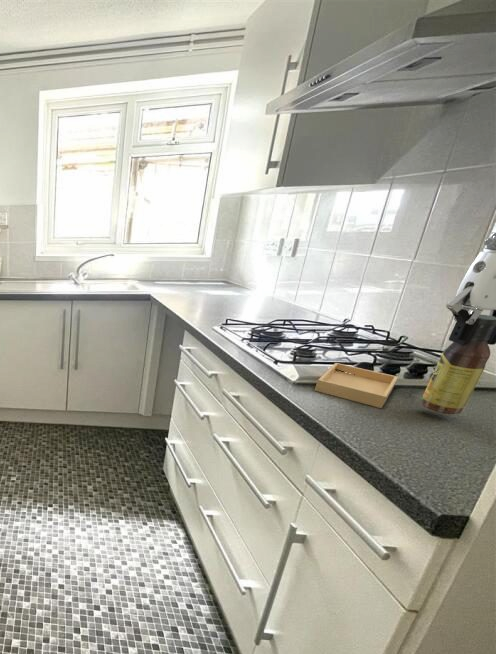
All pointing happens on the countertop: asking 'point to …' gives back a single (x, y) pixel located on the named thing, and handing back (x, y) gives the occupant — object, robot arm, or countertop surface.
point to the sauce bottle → (459, 370)
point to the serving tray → (357, 384)
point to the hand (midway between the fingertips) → (471, 341)
